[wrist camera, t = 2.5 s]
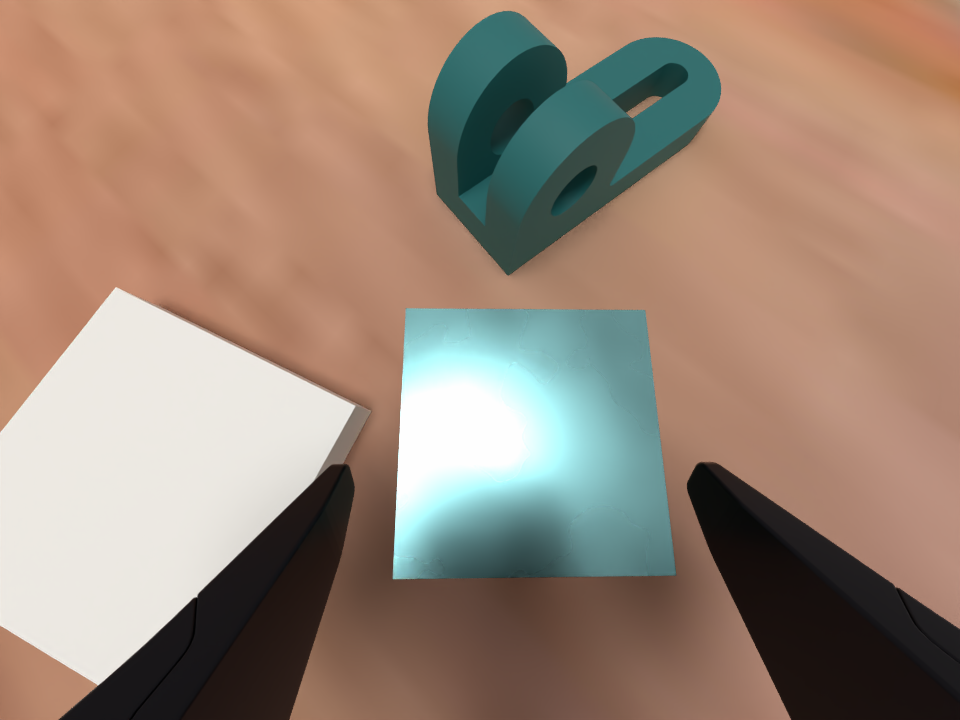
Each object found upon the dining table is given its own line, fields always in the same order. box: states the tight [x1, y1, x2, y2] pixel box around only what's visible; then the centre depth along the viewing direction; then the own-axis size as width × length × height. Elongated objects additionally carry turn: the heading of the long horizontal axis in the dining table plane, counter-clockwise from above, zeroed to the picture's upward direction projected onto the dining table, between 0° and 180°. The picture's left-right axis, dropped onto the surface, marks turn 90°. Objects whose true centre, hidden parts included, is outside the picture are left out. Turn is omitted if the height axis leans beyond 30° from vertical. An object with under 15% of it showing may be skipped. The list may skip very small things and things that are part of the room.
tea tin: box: [393, 308, 676, 579], centre depth 13 cm, size 6×6×10 cm
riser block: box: [0, 288, 371, 685], centre depth 16 cm, size 13×13×3 cm
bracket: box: [428, 11, 721, 275], centre depth 18 cm, size 18×7×8 cm, turn 128°
